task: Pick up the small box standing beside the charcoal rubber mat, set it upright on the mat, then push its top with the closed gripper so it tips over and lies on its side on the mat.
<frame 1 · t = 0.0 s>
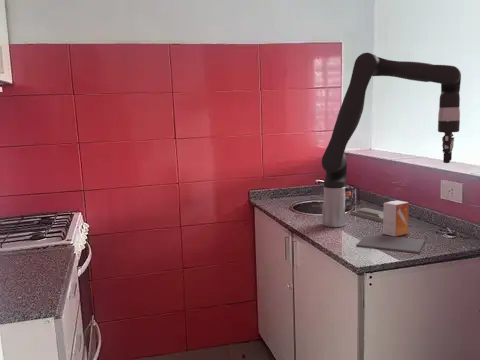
hand: (447, 161, 175), 29 cm above the worktop, tool pointing down, fingers open, 8 cm apart
mat: (391, 243, 170), on the worktop
supplement bottle: (345, 209, 233), on the worktop
small box: (395, 234, 183), on the worktop
soap mold: (373, 218, 214), on the worktop
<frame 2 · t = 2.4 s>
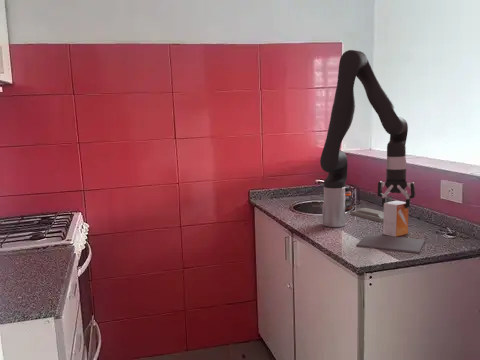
hand: (396, 207, 181), 11 cm above the worktop, tool pointing down, fingers open, 8 cm apart
small box: (395, 234, 183), on the worktop, touching gripper
everything else where it was.
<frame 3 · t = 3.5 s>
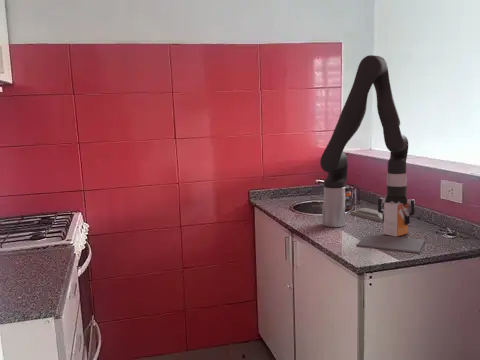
hand: (396, 223, 182), 4 cm above the worktop, tool pointing down, fingers closed on small box, 8 cm apart
small box: (395, 234, 183), on the worktop, touching gripper
everything else where it was.
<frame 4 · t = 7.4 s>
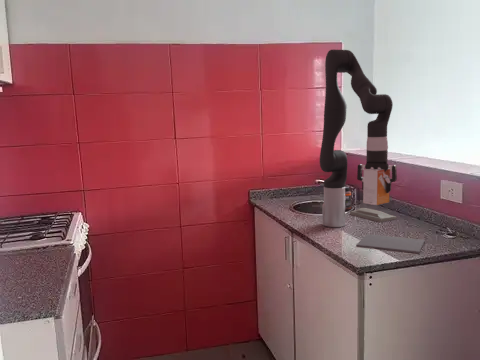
hand: (376, 192, 170), 19 cm above the worktop, tool pointing down, fingers closed on small box, 8 cm apart
small box: (376, 203, 170), point 15 cm above the worktop, touching gripper
everything else where it was.
when the fingers open (6 cm above the worktop, at t = 10.9 s): small box stays where it is, resting on mat.
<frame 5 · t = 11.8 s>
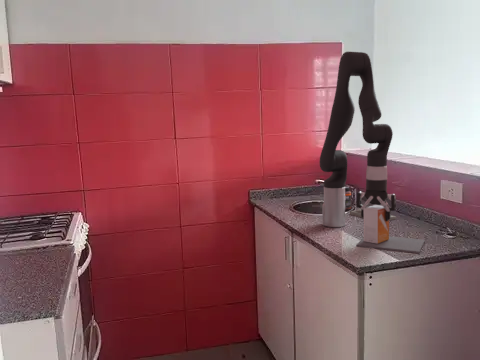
hand: (375, 219, 171), 9 cm above the worktop, tool pointing down, fingers open, 8 cm apart
small box: (376, 241, 172), resting on mat
everything else where it was.
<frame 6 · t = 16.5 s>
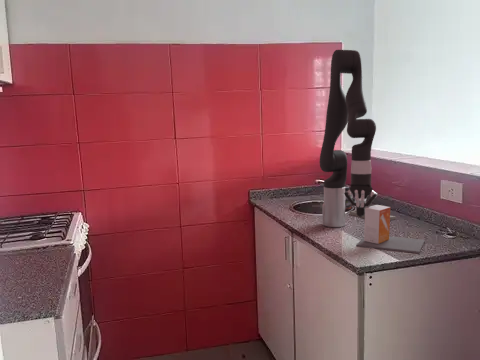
hand: (360, 216, 173), 10 cm above the worktop, tool pointing down, fingers closed
small box: (376, 241, 172), resting on mat, touching gripper
everything else where it was.
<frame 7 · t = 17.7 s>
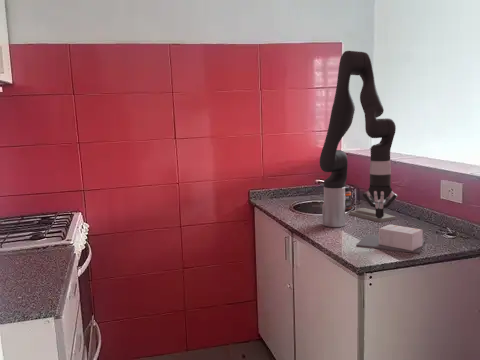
hand: (379, 218, 170), 10 cm above the worktop, tool pointing down, fingers closed
small box: (383, 234, 170), point 4 cm above the worktop, touching mat
everything else where it was.
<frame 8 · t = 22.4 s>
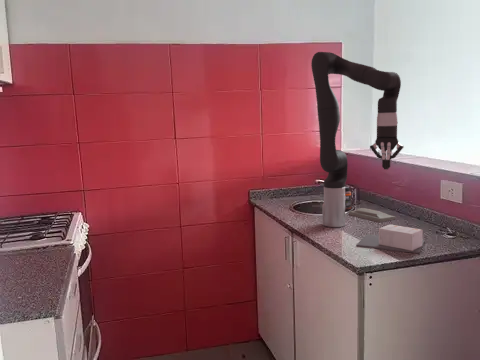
hand: (386, 169, 176), 27 cm above the worktop, tool pointing down, fingers closed
nothing on the worktop moved.
at the end: small box tilted 89°; small box inside the target area (3.7 cm from its centre), point 3.6 cm above the worktop; small box touching mat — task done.
